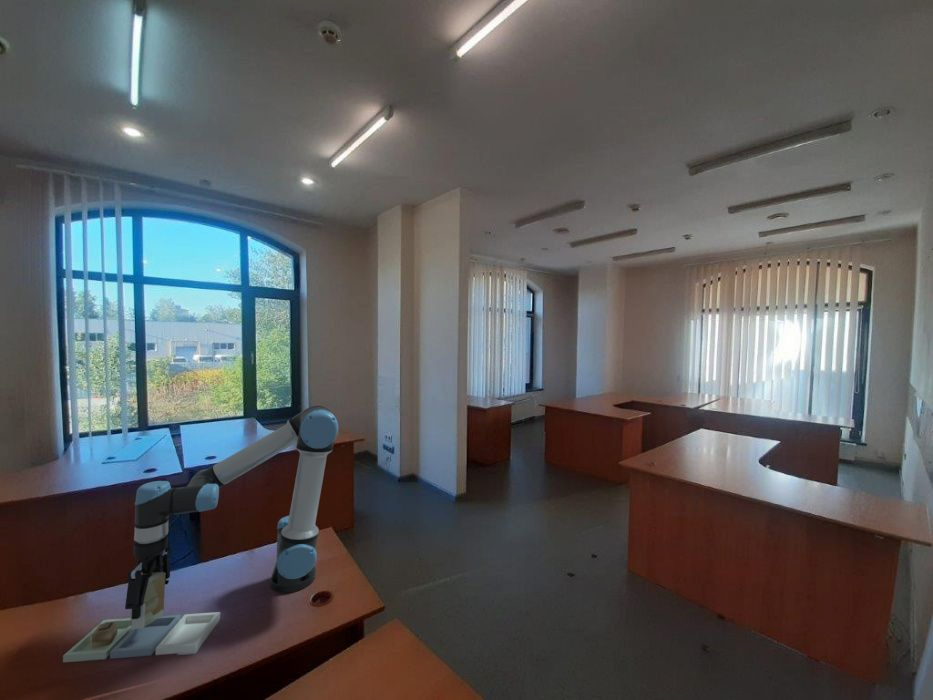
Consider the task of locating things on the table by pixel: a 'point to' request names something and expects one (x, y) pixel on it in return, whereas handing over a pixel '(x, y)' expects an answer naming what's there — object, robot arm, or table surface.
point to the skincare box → (154, 598)
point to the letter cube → (104, 634)
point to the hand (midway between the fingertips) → (148, 617)
